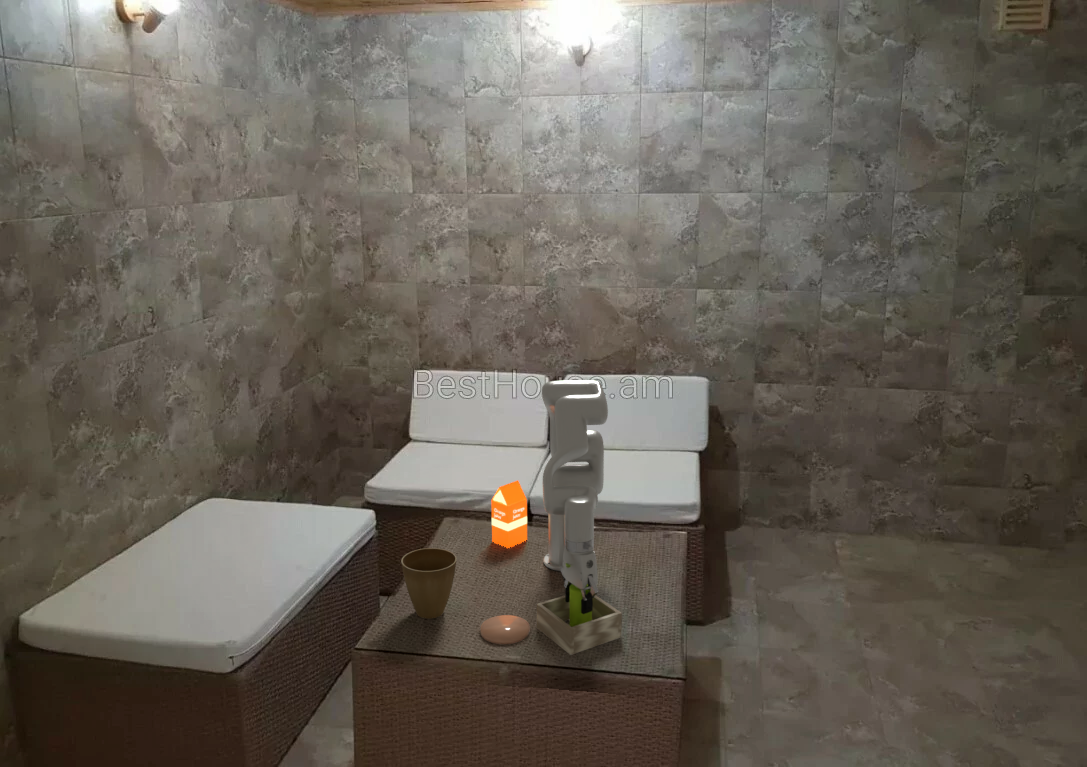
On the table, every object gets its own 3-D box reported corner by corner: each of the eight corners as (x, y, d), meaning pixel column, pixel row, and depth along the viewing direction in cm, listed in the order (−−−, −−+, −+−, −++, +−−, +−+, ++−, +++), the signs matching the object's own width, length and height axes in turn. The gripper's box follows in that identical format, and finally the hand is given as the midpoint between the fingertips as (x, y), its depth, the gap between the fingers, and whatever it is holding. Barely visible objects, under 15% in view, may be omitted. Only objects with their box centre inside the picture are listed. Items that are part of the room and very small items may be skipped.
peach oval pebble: (513, 614, 247) (513, 610, 247) (539, 635, 237) (538, 631, 236) (471, 627, 241) (471, 623, 240) (495, 649, 230) (495, 645, 230)
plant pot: (435, 631, 239) (433, 575, 235) (392, 616, 247) (389, 562, 243) (469, 607, 251) (467, 554, 247) (427, 594, 259) (424, 543, 255)
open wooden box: (586, 611, 249) (586, 588, 247) (621, 637, 236) (621, 612, 234) (536, 627, 240) (536, 603, 239) (570, 655, 227) (570, 629, 226)
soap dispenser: (564, 627, 241) (564, 558, 236) (590, 626, 241) (590, 557, 236) (566, 638, 235) (566, 568, 230) (593, 637, 235) (593, 567, 230)
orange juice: (527, 540, 295) (527, 482, 290) (508, 548, 289) (507, 490, 284) (510, 533, 300) (510, 477, 295) (491, 541, 294) (490, 484, 289)
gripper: (611, 551, 227) (610, 616, 231) (572, 528, 241) (572, 589, 245) (586, 559, 223) (586, 624, 227) (548, 534, 237) (548, 597, 241)
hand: (578, 606), depth 236 cm, fingers open, 6 cm apart
